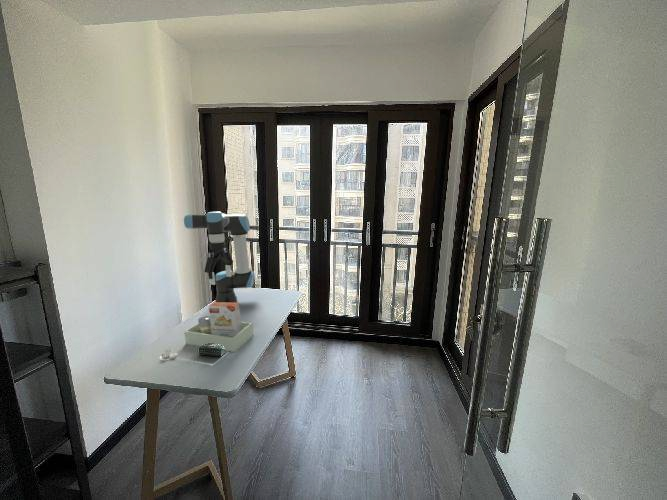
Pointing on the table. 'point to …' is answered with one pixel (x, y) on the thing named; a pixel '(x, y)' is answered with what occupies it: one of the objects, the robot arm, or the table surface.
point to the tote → (219, 337)
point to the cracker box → (225, 319)
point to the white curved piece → (168, 354)
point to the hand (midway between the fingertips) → (221, 280)
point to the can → (205, 325)
